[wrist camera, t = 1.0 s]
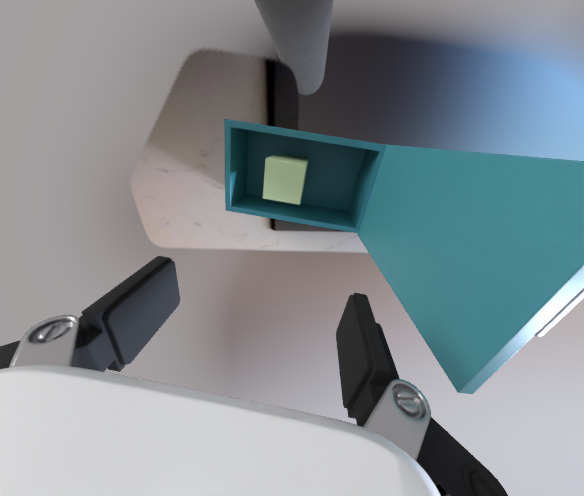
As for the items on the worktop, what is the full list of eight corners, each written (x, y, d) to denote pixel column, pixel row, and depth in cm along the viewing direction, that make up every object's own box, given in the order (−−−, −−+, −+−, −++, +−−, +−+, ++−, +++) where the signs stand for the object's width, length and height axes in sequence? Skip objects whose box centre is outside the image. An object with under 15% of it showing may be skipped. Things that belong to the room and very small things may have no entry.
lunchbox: (243, 196, 34) (225, 210, 27) (245, 123, 29) (224, 118, 22) (350, 214, 33) (359, 233, 27) (371, 144, 29) (388, 145, 22)
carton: (275, 184, 32) (262, 198, 24) (279, 153, 30) (265, 157, 22) (303, 188, 32) (299, 204, 24) (309, 158, 30) (306, 164, 22)
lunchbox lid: (457, 393, 10) (548, 402, 10) (676, 169, 5) (840, 197, 5) (357, 234, 26) (393, 239, 27) (386, 144, 21) (430, 151, 22)
